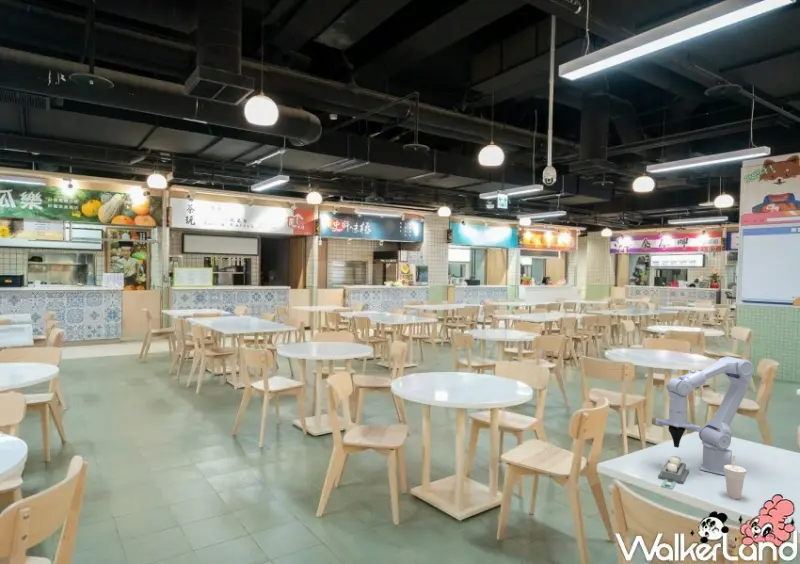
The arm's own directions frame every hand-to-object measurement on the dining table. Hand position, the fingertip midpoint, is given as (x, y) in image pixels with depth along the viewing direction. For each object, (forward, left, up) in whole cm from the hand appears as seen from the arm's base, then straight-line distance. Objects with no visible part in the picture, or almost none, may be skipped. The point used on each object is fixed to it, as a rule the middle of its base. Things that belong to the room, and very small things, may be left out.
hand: (676, 446), depth 189 cm
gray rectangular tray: (0, +5, -9) cm, 11 cm away
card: (0, +15, -9) cm, 18 cm away
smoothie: (-19, +12, -10) cm, 24 cm away
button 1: (0, +9, -8) cm, 12 cm away
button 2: (0, 0, -8) cm, 8 cm away
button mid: (0, +5, -7) cm, 8 cm away
